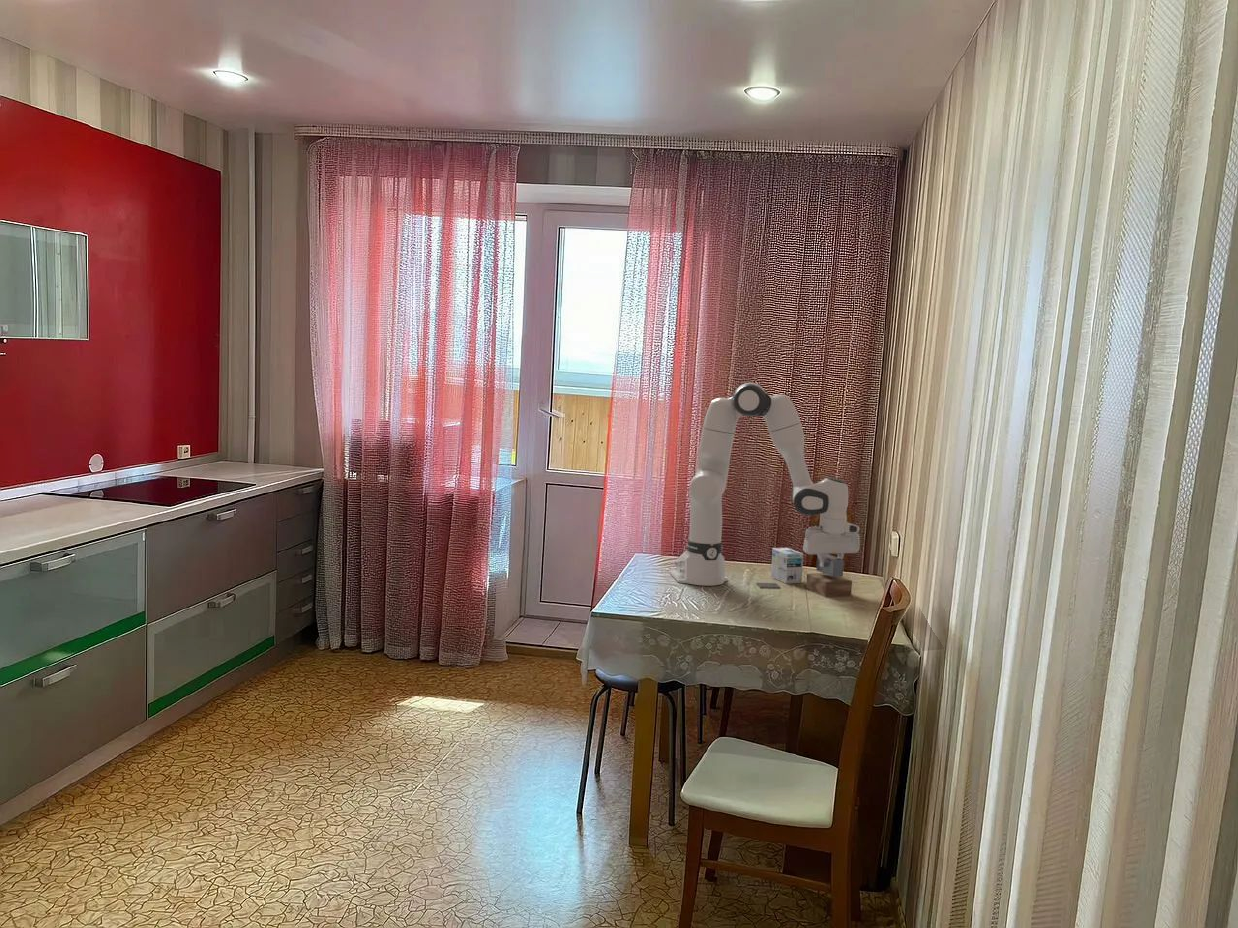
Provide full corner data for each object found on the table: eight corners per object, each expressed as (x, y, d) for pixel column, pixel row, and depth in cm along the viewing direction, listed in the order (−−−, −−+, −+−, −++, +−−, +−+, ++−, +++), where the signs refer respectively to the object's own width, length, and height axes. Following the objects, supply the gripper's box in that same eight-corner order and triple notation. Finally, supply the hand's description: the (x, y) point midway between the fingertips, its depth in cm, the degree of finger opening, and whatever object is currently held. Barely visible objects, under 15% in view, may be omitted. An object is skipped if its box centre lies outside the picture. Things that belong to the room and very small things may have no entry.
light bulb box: (802, 583, 326) (804, 553, 325) (785, 584, 323) (787, 553, 322) (785, 576, 336) (787, 546, 335) (769, 577, 333) (771, 547, 332)
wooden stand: (806, 588, 319) (807, 573, 318) (831, 586, 322) (832, 572, 322) (825, 596, 308) (826, 582, 307) (851, 595, 311) (852, 580, 310)
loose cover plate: (755, 585, 322) (756, 582, 322) (775, 585, 323) (775, 583, 323) (760, 589, 316) (760, 586, 316) (780, 590, 317) (780, 587, 317)
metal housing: (832, 576, 309) (833, 560, 308) (816, 569, 318) (817, 554, 318) (842, 576, 310) (843, 560, 310) (826, 569, 320) (827, 553, 319)
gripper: (810, 528, 306) (808, 569, 307) (863, 527, 313) (860, 567, 314) (800, 524, 312) (798, 565, 313) (853, 523, 319) (850, 563, 320)
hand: (829, 566), depth 314 cm, fingers closed on metal housing, 4 cm apart
